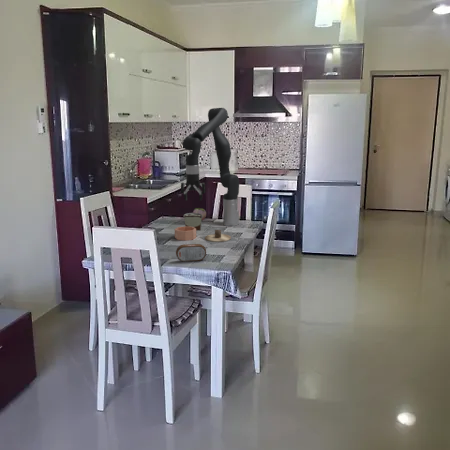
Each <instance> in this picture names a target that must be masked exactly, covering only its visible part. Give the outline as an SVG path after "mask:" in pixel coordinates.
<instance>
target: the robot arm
mask: <svg viewBox="0 0 450 450" xmlns="http://www.w3.org/2000/svg"><path fill="white" fill-rule="evenodd" d="M228 117H229V113H228V111H227V109H226V108H224V107H213V108H210V109H208V113H207V118H208V121H207V122H205V123H203V124H201V125H200V126H199V127H198V128H197V129H196V130H195V131H194V132H192V133H191V134H188V135H187V136H186V137H185V138H184V139H183V141H182V147H183V149H184V150H186V151H192V152H191V153H190V154H188V155H186V156H185V157H186V158H185V162H186V163H185V165H186V167H185V179H186V180H185V182H181V183H180V193H181V194H183V197H184V198H183V199H184V200H185V201H188V192H189V191H197V193H198V194H199V195H198V197H199V199H198V201H199V202H201V201H202V200H203V194H205V193H206V184H205V182H202V183H201V182H200V167H199V157H200V153H201V148H202V142H203V141H205V139H206V138H208V136H209V135H210V134H212V137H213V142H214V147H215V148H214V149H215V152H216V158H217V162H218V168H219V178H220V184H221V186H222V187H224V188H226V193H224V194H223V197H222V198H223V199H222V202H223V203H222V204H223V207H222V209H223V214H222V215H223V217H222V218H223V226H226V227H235V226H238V225H239V224H240V215H239V214H240V213H239V212H240V211H239V209H238V203H239V202H238V196H239V194H240V179H239V176H238V175H237V174H233V173H231V171H230V166H229V165H230V160H231V157H232V149H231V145H230V141H229V140H228V138H227V137H226V136H225V134H224V133H223V132H222V130H221V128H220V127H221V125H223V124H224V123H226V122H227V121H228ZM185 186H186V189H185ZM200 186H201V188H200Z"/></svg>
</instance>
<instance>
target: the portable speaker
mask: <svg viewBox="0 0 450 450" xmlns="http://www.w3.org/2000/svg"><path fill="white" fill-rule="evenodd" d="M175 255H176V257H177V259H178V260H179V261H181V262H184V263H185V261H186V262H201V261H203V260H204V259H206V256H207V249H206V247H205V246H204V245H203V244H201V243H194V244H193V243H190V244H189V243H188V244H187V243H184V244H180V245H179V246H178V247H177V248H176V250H175Z"/></svg>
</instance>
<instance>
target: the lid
mask: <svg viewBox="0 0 450 450" xmlns="http://www.w3.org/2000/svg"><path fill="white" fill-rule="evenodd" d="M226 234H227V233H225V234H224V233H222V230H221V229H215V230H214V233H212V234H208V235H207V234H206V235H205V236H206V237H205V239H206V240H207V241H211V242H223V243H226V242H225V241H229V240H230V239H231V237H232V236H231V235H229V234H227V235H226ZM229 242H230V241H229Z"/></svg>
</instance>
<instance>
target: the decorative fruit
mask: <svg viewBox="0 0 450 450" xmlns="http://www.w3.org/2000/svg"><path fill="white" fill-rule="evenodd" d="M192 213H199V214H202V216H203V218H202V221H204V220H205V219H206V216H207V212H206V210H205V209H204V208H200V206H199V207H195V208H194V209H193V212H192Z"/></svg>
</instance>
